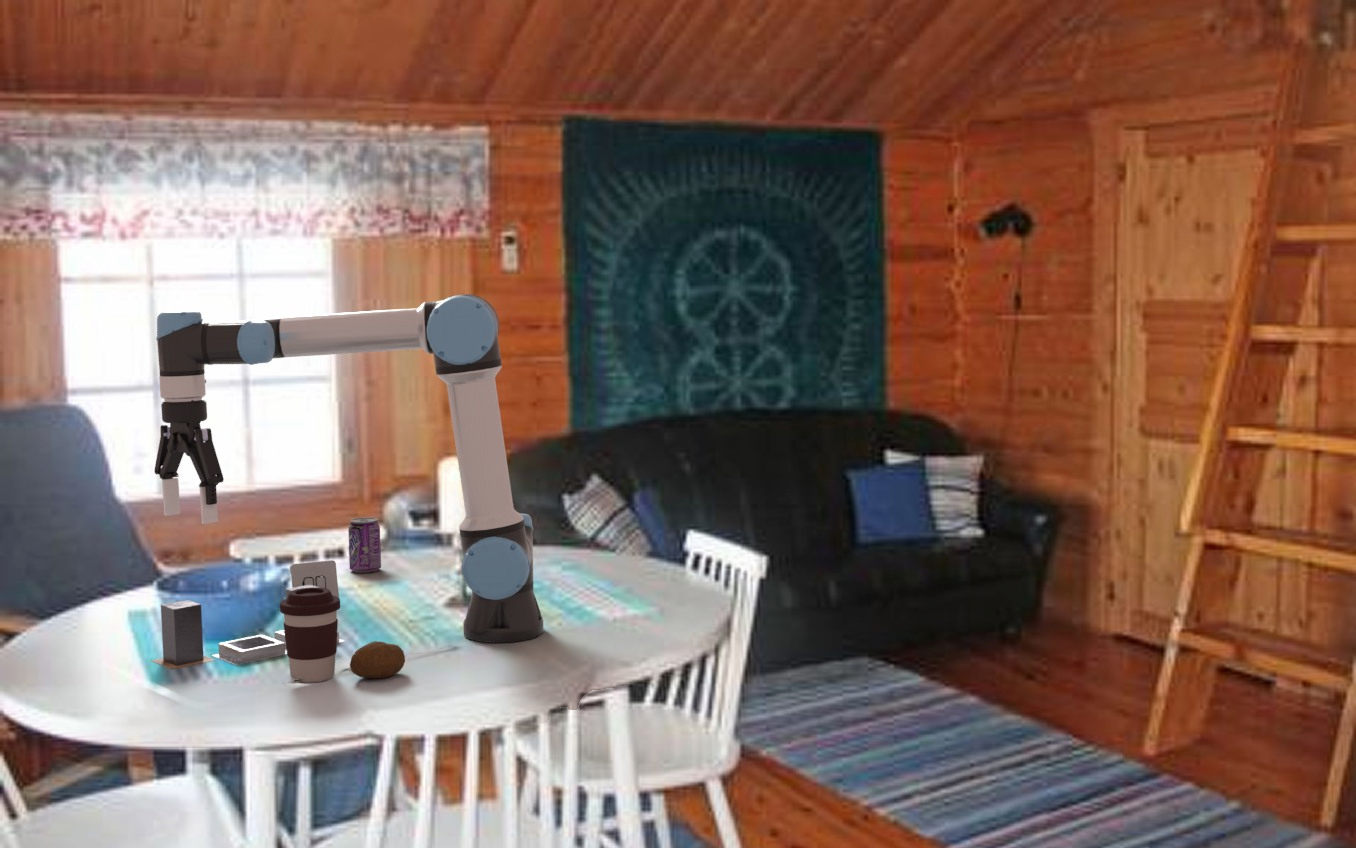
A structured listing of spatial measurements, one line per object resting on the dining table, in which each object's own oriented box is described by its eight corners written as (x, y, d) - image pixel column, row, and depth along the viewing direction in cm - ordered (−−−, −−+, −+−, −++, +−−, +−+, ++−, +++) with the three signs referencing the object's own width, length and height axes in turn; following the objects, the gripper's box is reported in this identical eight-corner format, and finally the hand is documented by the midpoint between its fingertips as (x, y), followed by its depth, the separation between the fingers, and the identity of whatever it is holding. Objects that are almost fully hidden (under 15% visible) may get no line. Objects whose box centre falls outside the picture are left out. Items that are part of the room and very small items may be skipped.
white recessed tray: (346, 646, 263) (345, 630, 262) (236, 670, 247) (235, 653, 247) (320, 637, 269) (320, 622, 269) (211, 660, 254) (210, 644, 253)
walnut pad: (215, 665, 250) (215, 660, 250) (172, 675, 245) (171, 669, 245) (194, 657, 256) (194, 651, 256) (151, 666, 250) (151, 660, 250)
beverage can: (348, 569, 331) (346, 518, 329) (379, 567, 333) (378, 516, 332) (351, 575, 324) (349, 523, 323) (382, 573, 326) (381, 521, 325)
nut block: (203, 660, 250) (201, 604, 249) (176, 666, 247) (173, 609, 246) (190, 655, 254) (187, 600, 253) (163, 660, 250) (160, 604, 249)
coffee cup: (319, 666, 250) (316, 582, 248) (354, 676, 243) (351, 590, 242) (270, 679, 242) (267, 592, 240) (306, 689, 236) (302, 600, 234)
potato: (414, 675, 244) (413, 640, 243) (364, 687, 237) (363, 650, 236) (393, 668, 248) (392, 633, 248) (343, 679, 242) (342, 643, 241)
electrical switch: (294, 610, 291) (291, 565, 291) (289, 607, 296) (287, 563, 296) (340, 605, 295) (337, 561, 295) (334, 602, 300) (332, 558, 300)
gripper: (239, 401, 244) (246, 523, 246) (169, 394, 261) (176, 508, 263) (198, 404, 239) (206, 529, 241) (130, 397, 256) (137, 514, 258)
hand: (190, 518), depth 252 cm, fingers open, 13 cm apart
